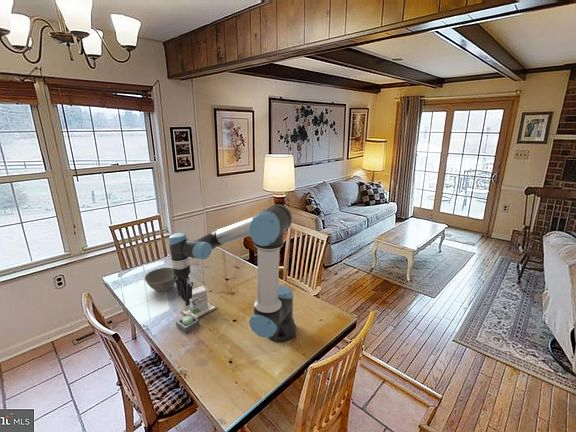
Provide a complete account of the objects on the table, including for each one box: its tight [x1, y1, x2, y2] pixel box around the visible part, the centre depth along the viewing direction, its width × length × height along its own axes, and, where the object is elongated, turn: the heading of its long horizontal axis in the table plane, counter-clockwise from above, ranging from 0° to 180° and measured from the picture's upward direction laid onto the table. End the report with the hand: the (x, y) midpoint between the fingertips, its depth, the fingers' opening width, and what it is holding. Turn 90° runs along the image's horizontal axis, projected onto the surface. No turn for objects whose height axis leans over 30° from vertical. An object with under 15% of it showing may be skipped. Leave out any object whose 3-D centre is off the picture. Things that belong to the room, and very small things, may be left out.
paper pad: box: [180, 301, 218, 320], centre depth 160 cm, size 12×15×1 cm
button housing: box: [175, 314, 201, 334], centre depth 147 cm, size 8×8×3 cm
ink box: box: [189, 285, 209, 314], centre depth 158 cm, size 8×5×12 cm, turn 127°
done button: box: [182, 316, 193, 326], centre depth 147 cm, size 5×5×3 cm
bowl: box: [144, 267, 176, 292], centre depth 178 cm, size 19×19×10 cm
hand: (187, 310), depth 145 cm, fingers closed
